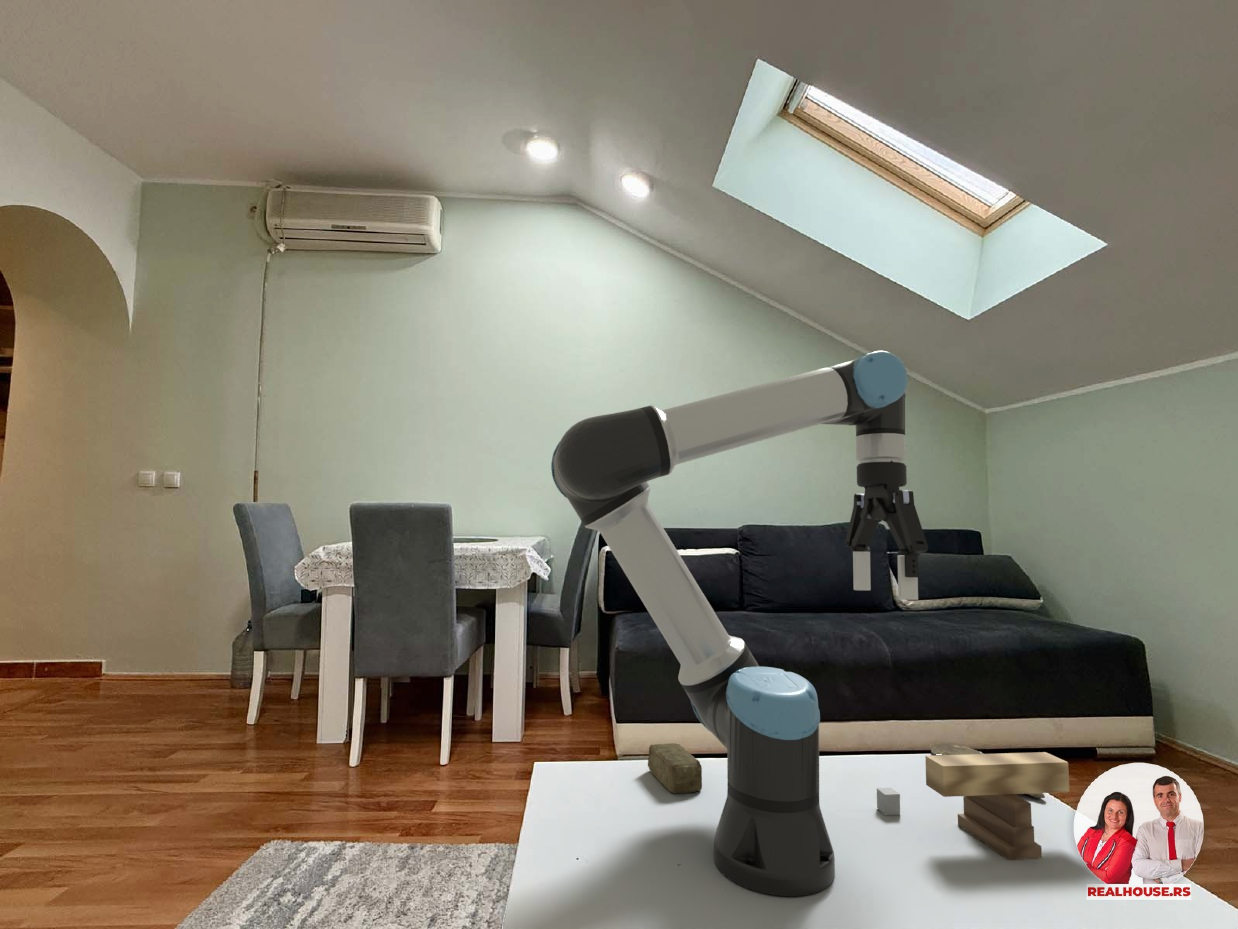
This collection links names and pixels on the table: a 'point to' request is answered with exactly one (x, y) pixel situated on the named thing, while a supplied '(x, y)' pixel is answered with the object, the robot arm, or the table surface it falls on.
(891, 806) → the gray blocks
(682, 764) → the stone block
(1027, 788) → the brass bar
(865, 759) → the table surface
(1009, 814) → the stepped block
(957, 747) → the stone tool
